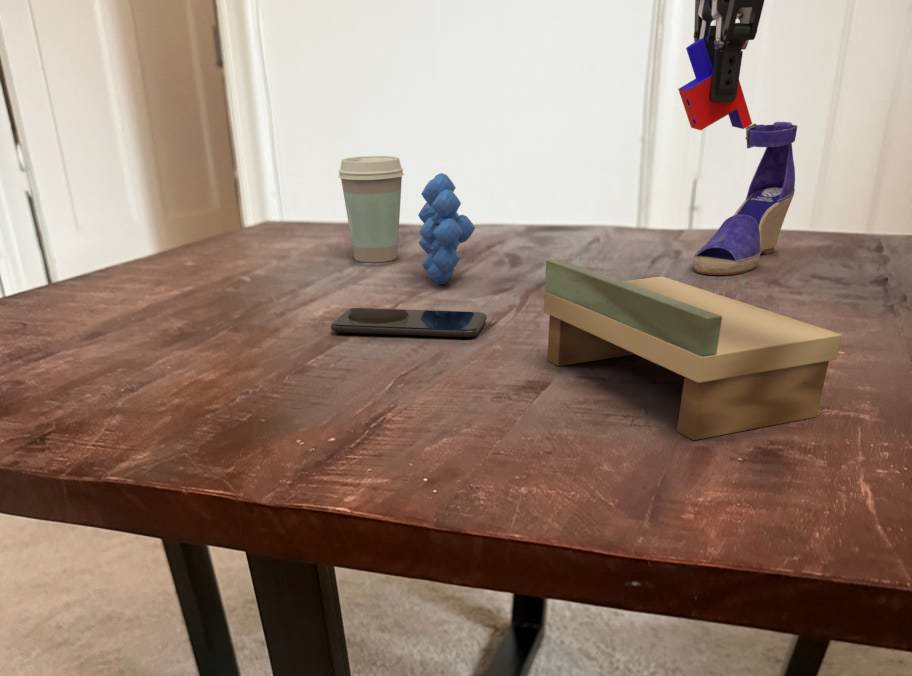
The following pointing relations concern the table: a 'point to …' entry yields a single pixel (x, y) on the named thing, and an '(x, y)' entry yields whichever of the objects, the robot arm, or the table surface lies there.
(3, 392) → the table surface
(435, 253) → the grapes
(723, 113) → the toy building block
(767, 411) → the shoe shelf
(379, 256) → the coffee cup
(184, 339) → the table surface
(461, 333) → the smartphone
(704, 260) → the sandal
